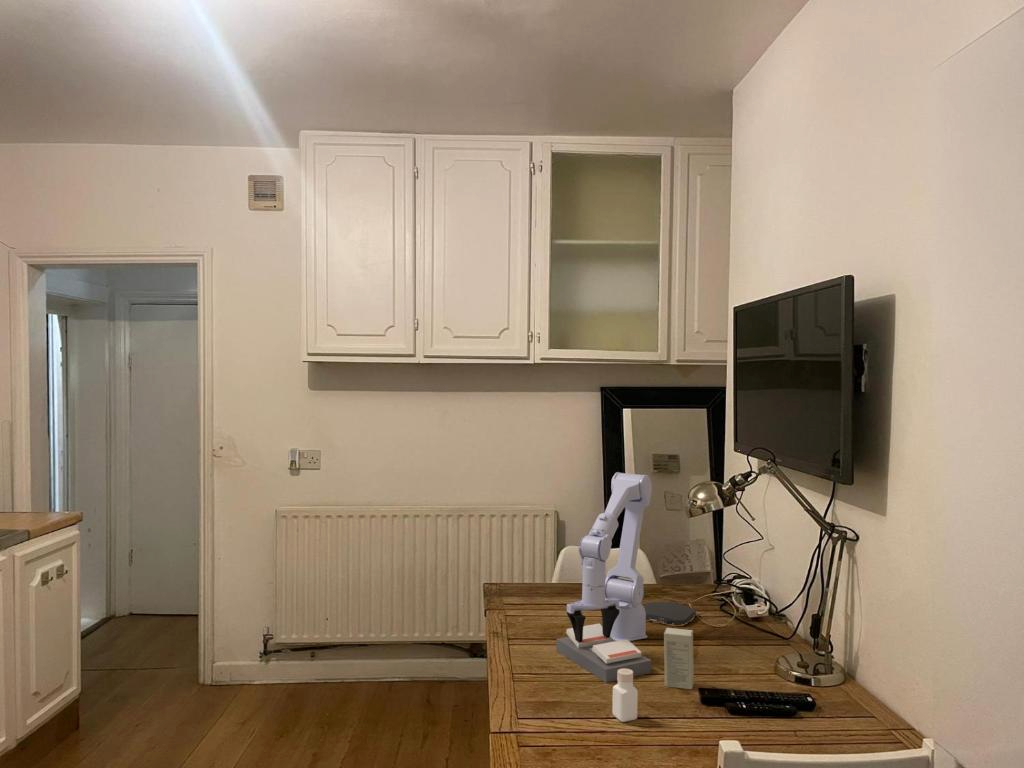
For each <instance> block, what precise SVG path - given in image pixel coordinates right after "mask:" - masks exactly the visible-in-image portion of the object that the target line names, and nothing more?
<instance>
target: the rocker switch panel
mask: <svg viewBox="0 0 1024 768" xmlns="http://www.w3.org/2000/svg"><path fill="white" fill-rule="evenodd" d="M614 641H615V640H613V639H612V641H611V642H614ZM555 642H556V643H555V645H556V646H555V648H556V649H555V651H556V652H558V653H560V654H561V655H563V656H564V657H566V658H567V659H569V660H570V661H571V662H573V663H575V664H576V665H578V666H579V667H581V668H582V669H584V670H585V671H587V672H589V673H590V674H591V675H594V677H596V678H598V679H600V681H602V682H604V683H611V682H615V681H618V680H617V671H618V670H619V669H630V670H632V671H633V678H635V677H638V676H643V675H648V674H652V659H650V658H648V657H646V656H644V655H642V654H641V657H637V658H632V659H627V660H622V661H618V662H613V663H608V664H606V663H605V662H604V661H603V660H602V659H601V658H600V657H599V656H598V655H597V654H596V653H595V652H594V651H593V650H592V648H593V645H592V646H586V647H581V648H578V647H577V646H576V645H575V644H574V642H573V641H572V640H571V639H570V637H569V636H565V637H560V638H559V637H558V638H556V641H555ZM608 643H609V642H608ZM602 644H603V643H602ZM597 645H598V644H597Z"/></svg>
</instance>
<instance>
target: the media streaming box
mask: <svg viewBox="0 0 1024 768" xmlns="http://www.w3.org/2000/svg"><path fill="white" fill-rule="evenodd" d="M642 605H643V606H644V609H645V612H646V620H651V621H655V622H660V621H664V622H663V623H666V624H672V623H674V625H681V624H685V623H687V622H688V621H690V620H691V619H692V618H693V616H694V615H695V614H696V615H697V609H695V608H694V607H691V606H688V605H685V604H682V603H677V602H673V601H671V602H670V601H651V602H650V601H649V602H647V603H645V604H642Z"/></svg>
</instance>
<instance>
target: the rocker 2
mask: <svg viewBox="0 0 1024 768" xmlns="http://www.w3.org/2000/svg"><path fill="white" fill-rule="evenodd" d="M592 650H593V651H594V652H595V653H596V654H597V655H598V656H599V657H600V658H601V659H602V660H603V661H604V662H605V663H606V664H608V663H613V662H618V661H622V660H627V659H632V658H637V657H641V655H642V651H641V650H640V649H638V647H637V646H636V645H634V644H633V643H632V641H628V640H627V639H625V640H619V641H614V642H609V643H603V644H598V645H593V648H592Z"/></svg>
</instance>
